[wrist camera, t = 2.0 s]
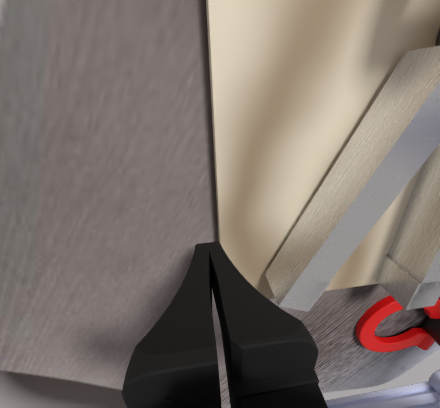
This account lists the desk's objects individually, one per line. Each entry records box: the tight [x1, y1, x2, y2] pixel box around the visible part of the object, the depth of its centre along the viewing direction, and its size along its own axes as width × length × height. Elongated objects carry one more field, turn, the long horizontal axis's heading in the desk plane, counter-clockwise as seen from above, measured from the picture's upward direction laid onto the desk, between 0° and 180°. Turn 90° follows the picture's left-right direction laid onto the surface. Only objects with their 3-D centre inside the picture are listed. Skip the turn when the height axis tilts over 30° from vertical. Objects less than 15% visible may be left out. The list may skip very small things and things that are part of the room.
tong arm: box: [265, 46, 440, 312], centre depth 12 cm, size 2×14×3 cm, turn 157°
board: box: [206, 0, 440, 299], centre depth 13 cm, size 20×22×1 cm
